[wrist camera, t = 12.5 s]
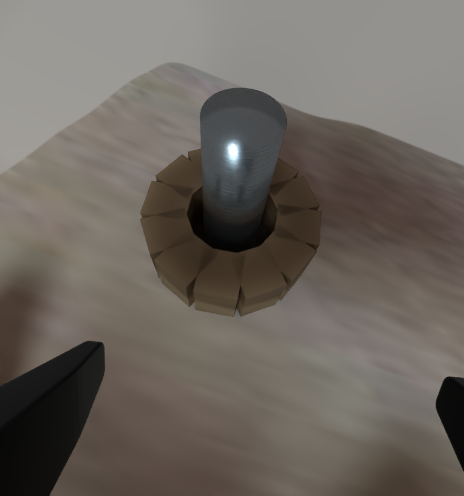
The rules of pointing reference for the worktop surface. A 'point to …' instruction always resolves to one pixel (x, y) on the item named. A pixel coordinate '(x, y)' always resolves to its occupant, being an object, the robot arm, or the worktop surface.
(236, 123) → the tall steel post
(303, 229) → the segmented wooden ring
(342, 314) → the worktop surface
